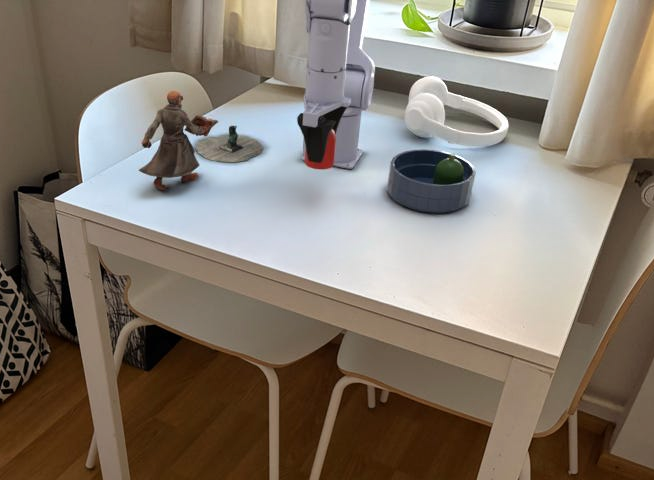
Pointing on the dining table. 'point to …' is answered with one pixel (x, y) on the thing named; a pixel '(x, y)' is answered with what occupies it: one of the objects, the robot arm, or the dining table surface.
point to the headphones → (430, 115)
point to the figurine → (174, 142)
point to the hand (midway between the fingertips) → (319, 154)
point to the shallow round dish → (427, 182)
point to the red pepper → (325, 155)
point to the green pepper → (448, 171)
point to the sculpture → (229, 147)
